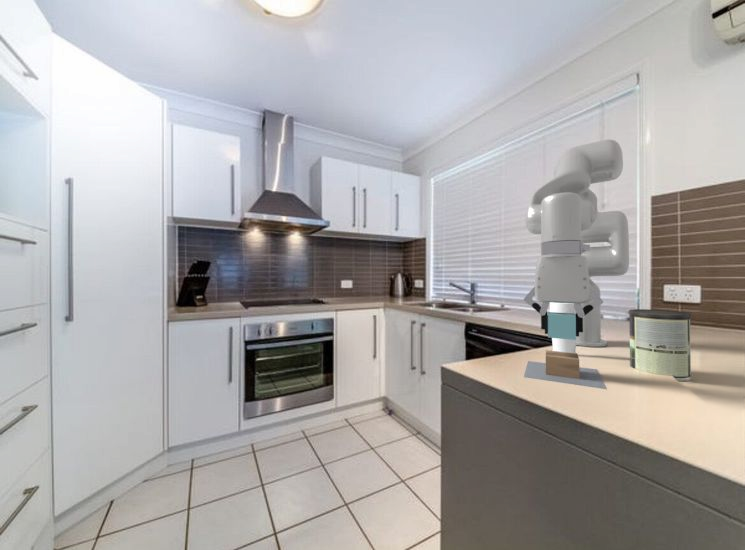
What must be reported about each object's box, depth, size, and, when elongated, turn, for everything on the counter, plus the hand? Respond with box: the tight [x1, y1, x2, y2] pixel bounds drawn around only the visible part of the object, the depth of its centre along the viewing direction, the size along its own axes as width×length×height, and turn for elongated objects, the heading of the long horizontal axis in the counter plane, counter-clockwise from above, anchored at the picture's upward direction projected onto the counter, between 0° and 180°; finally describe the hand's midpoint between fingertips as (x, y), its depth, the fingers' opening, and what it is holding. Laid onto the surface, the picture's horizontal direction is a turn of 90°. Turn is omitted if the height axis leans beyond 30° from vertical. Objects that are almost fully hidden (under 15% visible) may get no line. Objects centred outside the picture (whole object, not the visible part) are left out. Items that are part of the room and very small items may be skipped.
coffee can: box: [628, 308, 692, 382], centre depth 69 cm, size 10×10×14 cm
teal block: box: [547, 311, 576, 340], centre depth 66 cm, size 5×5×5 cm
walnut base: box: [545, 349, 580, 379], centre depth 67 cm, size 6×6×4 cm
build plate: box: [523, 360, 608, 390], centre depth 67 cm, size 14×14×1 cm
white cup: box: [549, 302, 577, 353], centre depth 84 cm, size 7×7×15 cm
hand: (561, 333), depth 66 cm, fingers closed on teal block, 5 cm apart
